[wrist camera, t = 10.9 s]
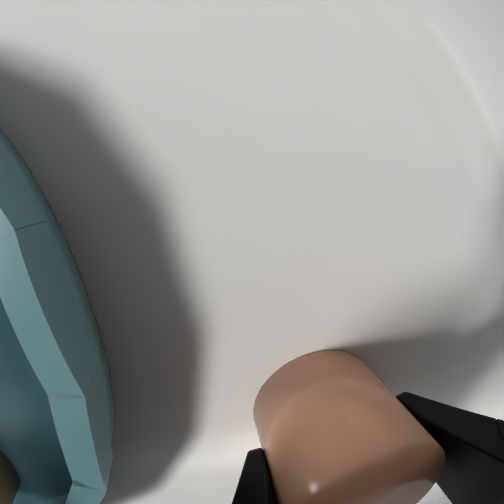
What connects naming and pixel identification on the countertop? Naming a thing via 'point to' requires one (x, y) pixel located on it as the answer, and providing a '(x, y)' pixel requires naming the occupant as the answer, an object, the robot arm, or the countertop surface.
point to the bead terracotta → (341, 435)
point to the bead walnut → (8, 480)
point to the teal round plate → (48, 354)
